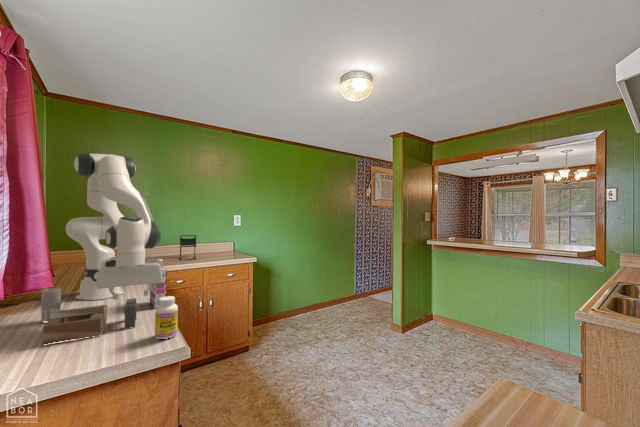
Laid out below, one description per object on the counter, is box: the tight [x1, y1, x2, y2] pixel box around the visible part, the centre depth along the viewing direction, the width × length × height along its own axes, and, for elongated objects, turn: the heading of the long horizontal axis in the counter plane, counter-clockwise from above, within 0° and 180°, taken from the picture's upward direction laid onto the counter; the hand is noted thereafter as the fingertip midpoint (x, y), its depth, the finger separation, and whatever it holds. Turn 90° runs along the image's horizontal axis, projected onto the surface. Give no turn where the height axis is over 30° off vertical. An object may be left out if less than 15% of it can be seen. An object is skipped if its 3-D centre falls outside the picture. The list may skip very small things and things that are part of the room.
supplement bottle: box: [154, 295, 179, 340], centre depth 94 cm, size 7×7×13 cm
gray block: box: [124, 297, 137, 329], centre depth 104 cm, size 10×3×8 cm, turn 31°
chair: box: [179, 234, 197, 261], centre depth 249 cm, size 13×17×22 cm
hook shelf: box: [42, 302, 108, 345], centre depth 96 cm, size 16×14×11 cm
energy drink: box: [40, 287, 62, 322], centre depth 105 cm, size 5×5×12 cm
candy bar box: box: [149, 267, 168, 309], centre depth 125 cm, size 11×5×16 cm, turn 40°
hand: (131, 297), depth 104 cm, fingers open, 8 cm apart
